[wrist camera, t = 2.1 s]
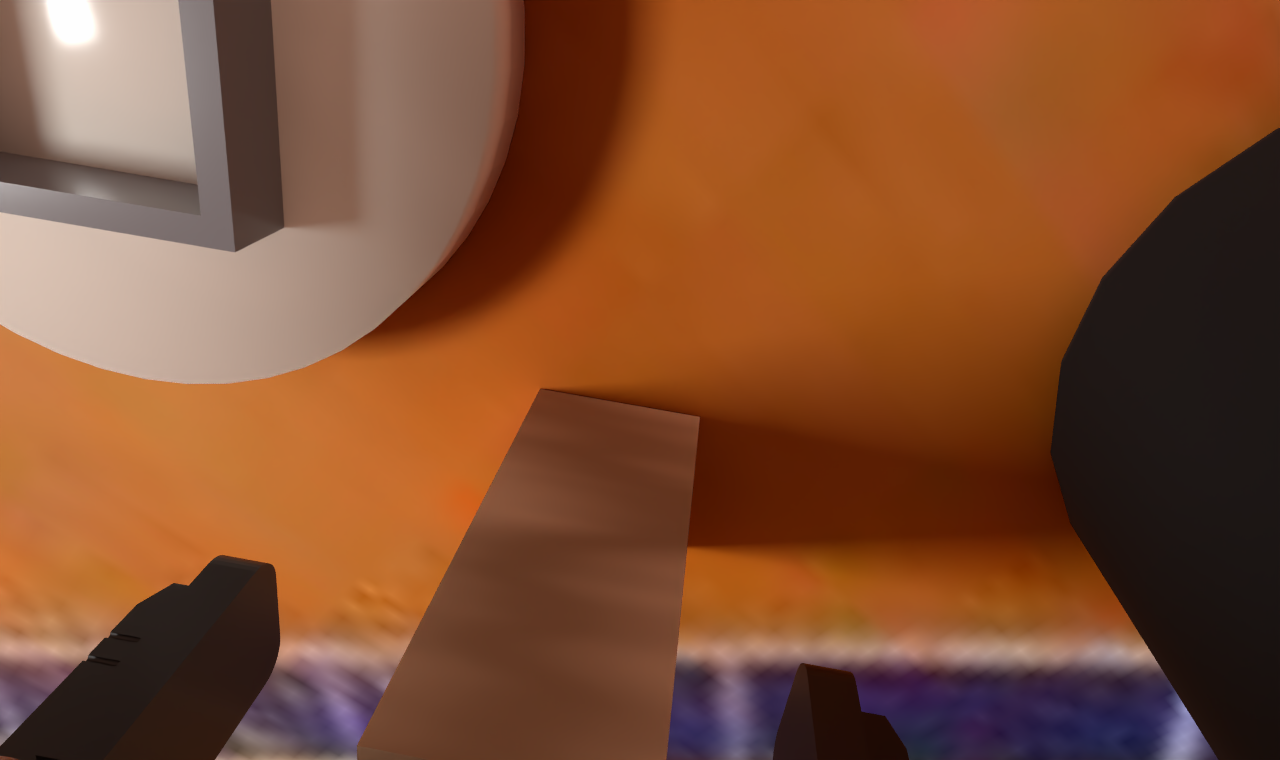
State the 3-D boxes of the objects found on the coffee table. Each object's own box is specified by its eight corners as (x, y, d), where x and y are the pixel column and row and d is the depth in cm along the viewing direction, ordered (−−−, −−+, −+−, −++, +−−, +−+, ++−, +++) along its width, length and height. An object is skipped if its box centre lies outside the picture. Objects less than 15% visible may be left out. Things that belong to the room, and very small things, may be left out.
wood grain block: (700, 416, 17) (662, 805, 9) (674, 547, 18) (621, 982, 10) (540, 388, 17) (357, 745, 9) (527, 520, 18) (361, 928, 10)
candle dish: (558, -426, 11) (488, -587, 8) (501, 391, 17) (447, 480, 14) (-307, -540, 12) (-683, -733, 9) (-81, 288, 18) (-259, 352, 14)
